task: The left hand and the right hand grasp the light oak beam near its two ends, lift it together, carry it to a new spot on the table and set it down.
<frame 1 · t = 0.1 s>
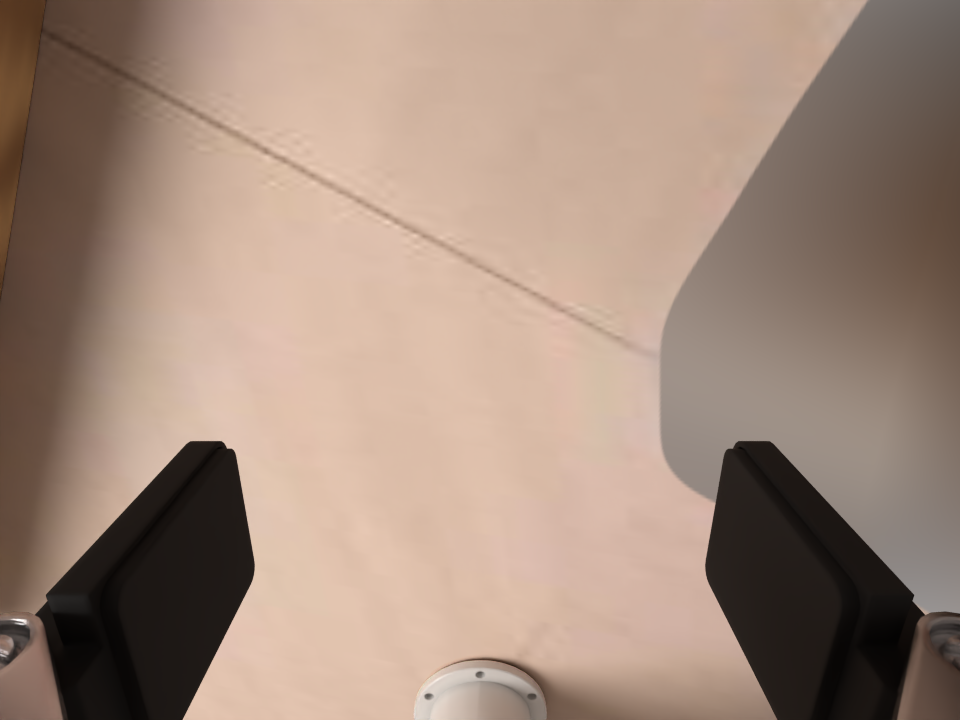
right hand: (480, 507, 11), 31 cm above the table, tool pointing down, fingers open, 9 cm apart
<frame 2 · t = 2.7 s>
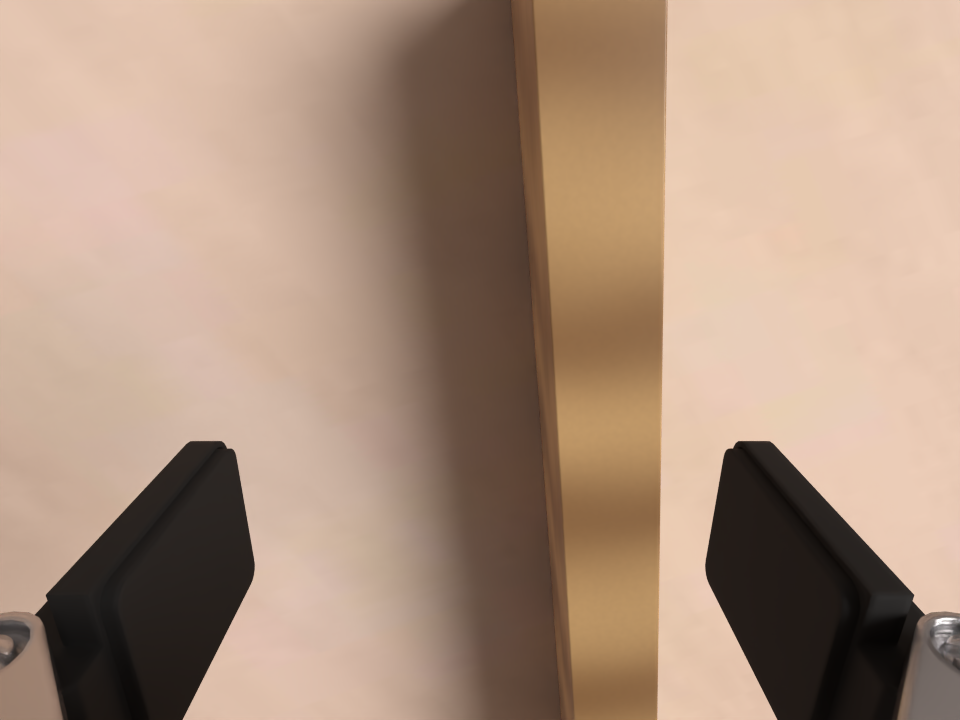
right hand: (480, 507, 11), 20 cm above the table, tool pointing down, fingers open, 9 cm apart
beam: (584, 572, 36), on the table
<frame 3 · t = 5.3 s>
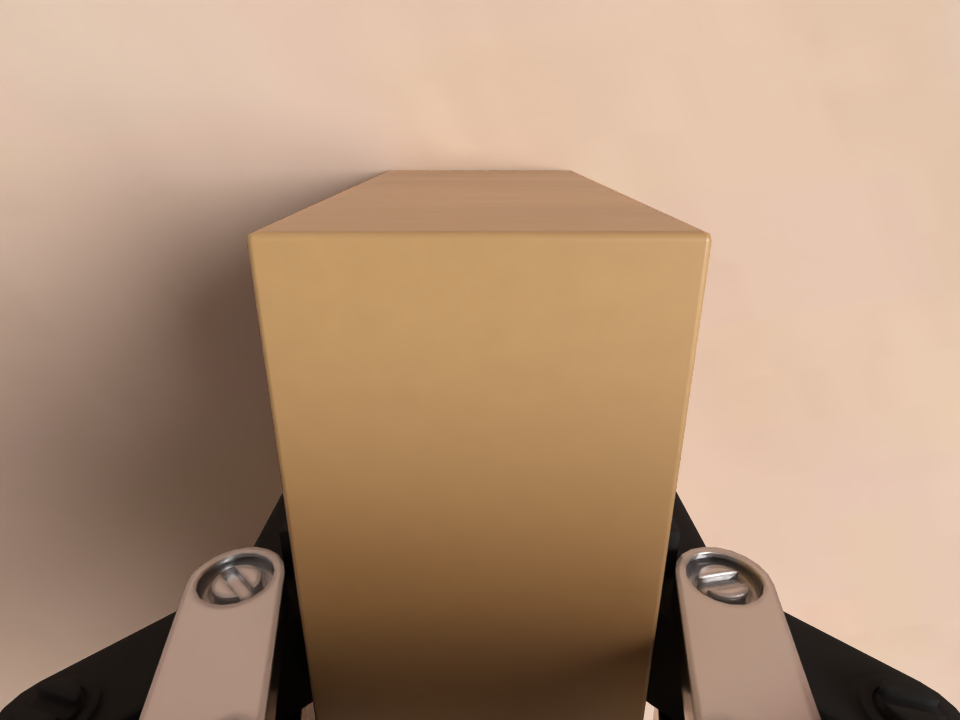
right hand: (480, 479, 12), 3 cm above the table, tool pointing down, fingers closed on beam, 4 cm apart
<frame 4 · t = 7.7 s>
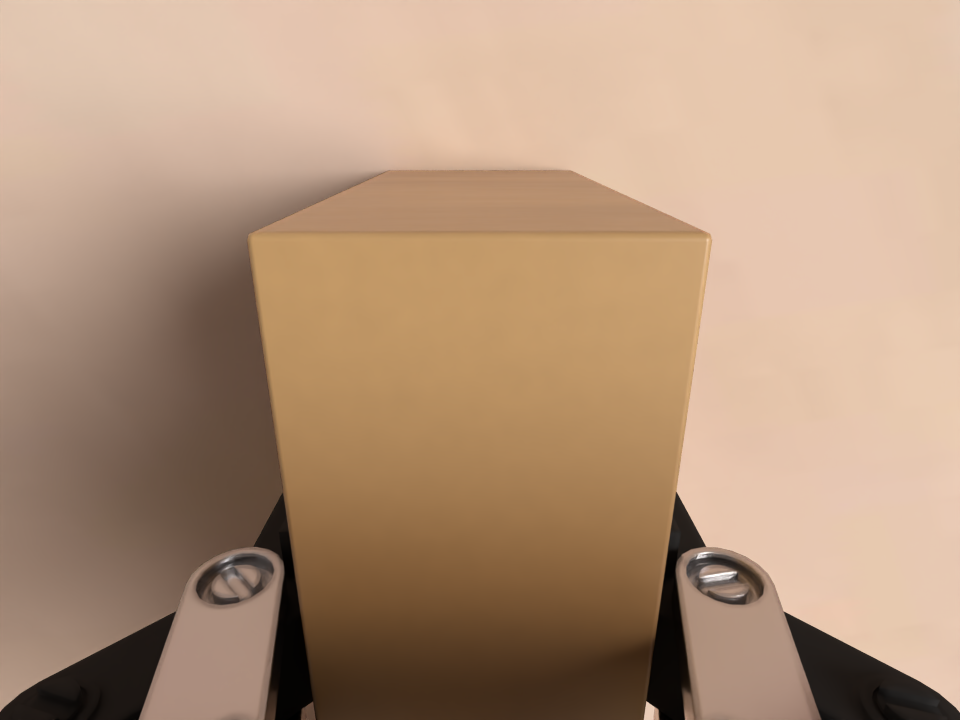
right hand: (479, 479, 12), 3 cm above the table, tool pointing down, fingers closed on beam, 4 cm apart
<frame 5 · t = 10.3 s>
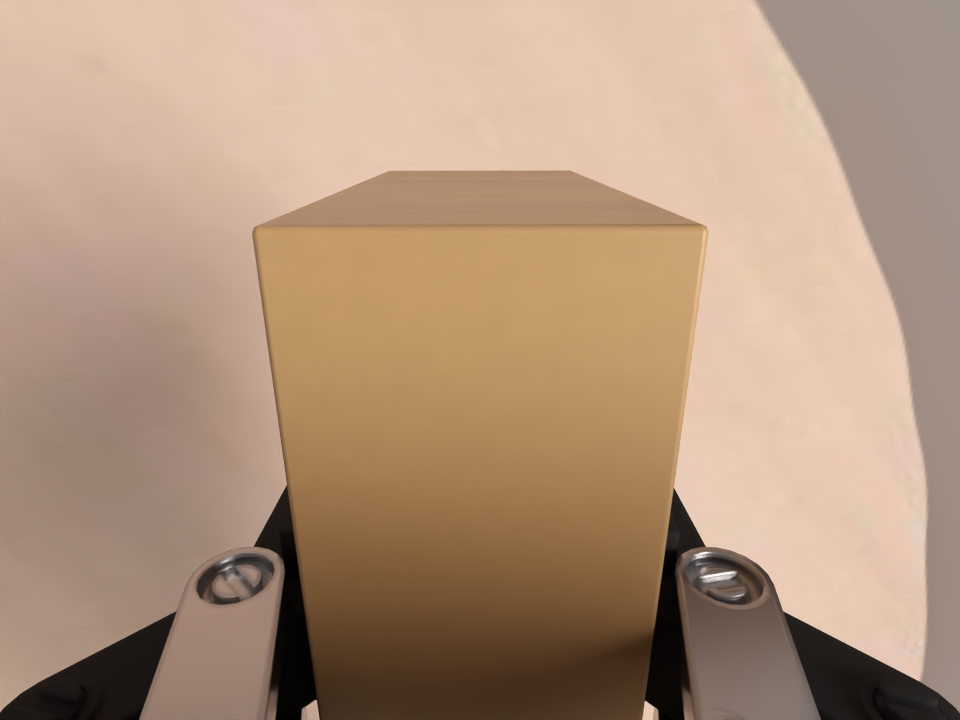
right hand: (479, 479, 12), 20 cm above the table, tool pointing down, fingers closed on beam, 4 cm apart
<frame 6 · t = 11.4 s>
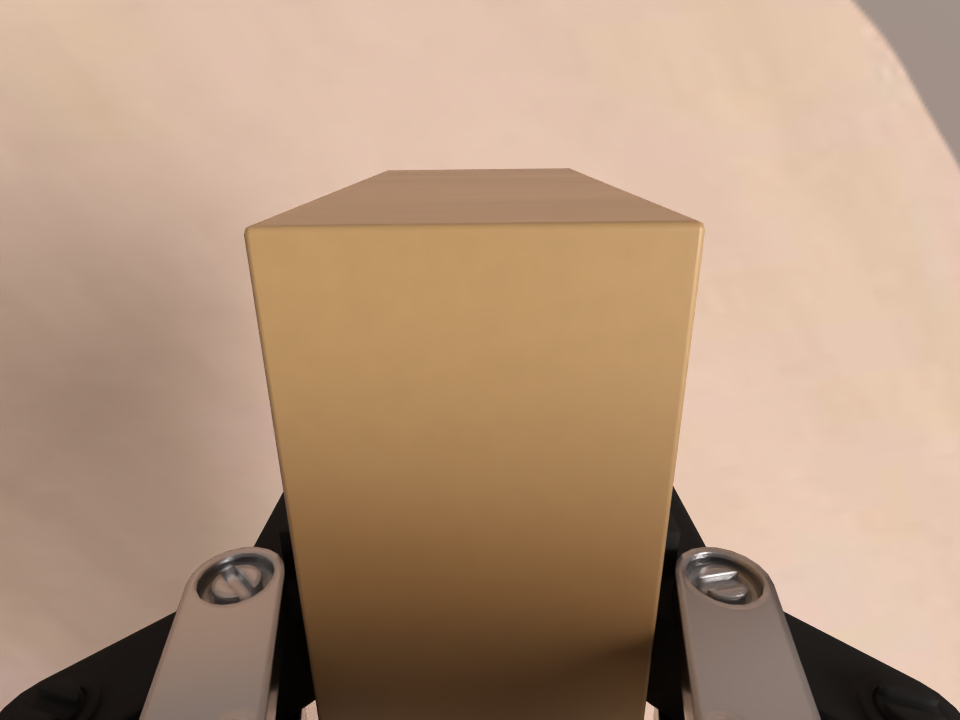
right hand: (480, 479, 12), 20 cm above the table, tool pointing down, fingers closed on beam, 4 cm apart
when the left hand's fingers open (5 cm above the table, at t = 15.3 s): beam drops 1 cm, on the table.
when the right hand's fingers open (4 cm above the table, at t = 15.3 s): beam drops 1 cm, on the table.
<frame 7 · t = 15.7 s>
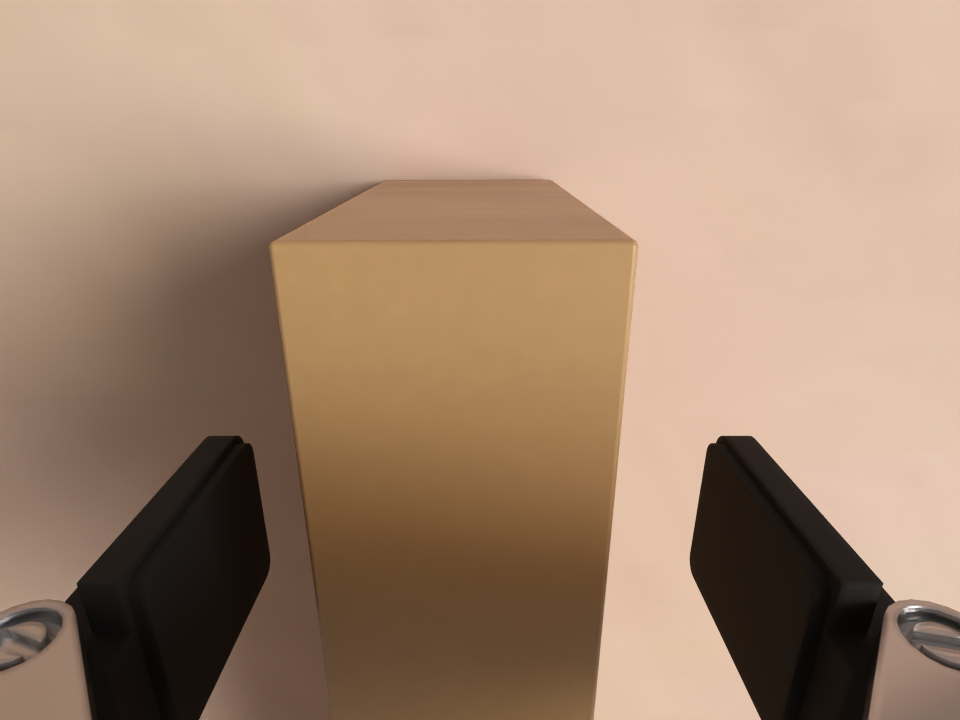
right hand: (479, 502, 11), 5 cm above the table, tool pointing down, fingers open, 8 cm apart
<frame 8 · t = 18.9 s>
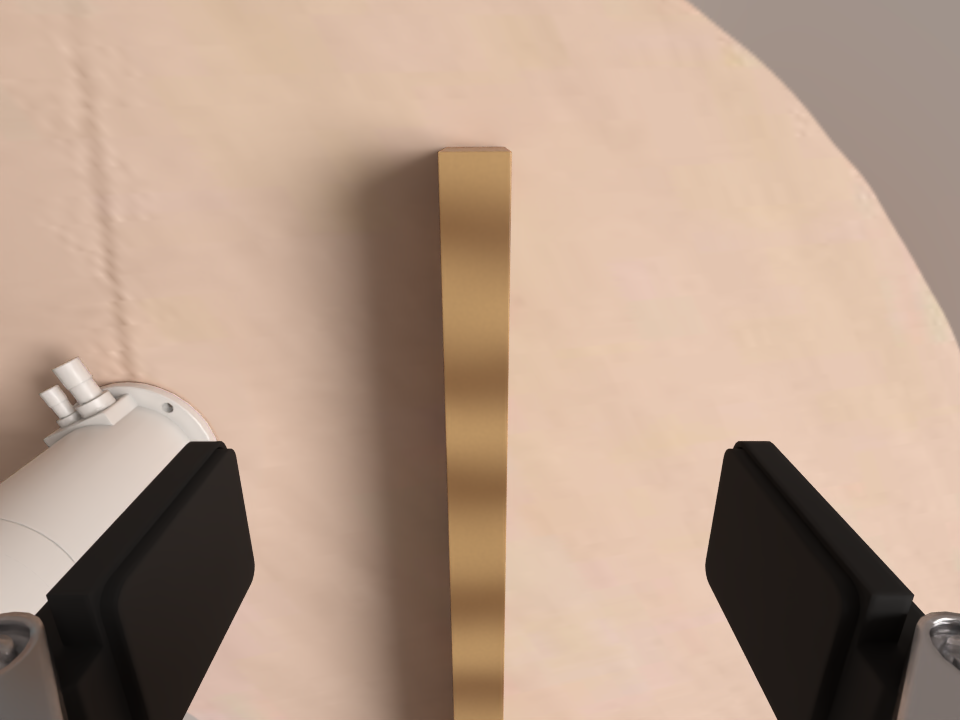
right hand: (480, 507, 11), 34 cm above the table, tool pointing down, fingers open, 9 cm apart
beam: (477, 533, 52), on the table
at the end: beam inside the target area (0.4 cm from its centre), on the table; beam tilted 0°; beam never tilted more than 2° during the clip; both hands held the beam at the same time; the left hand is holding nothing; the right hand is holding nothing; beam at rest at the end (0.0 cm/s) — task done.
